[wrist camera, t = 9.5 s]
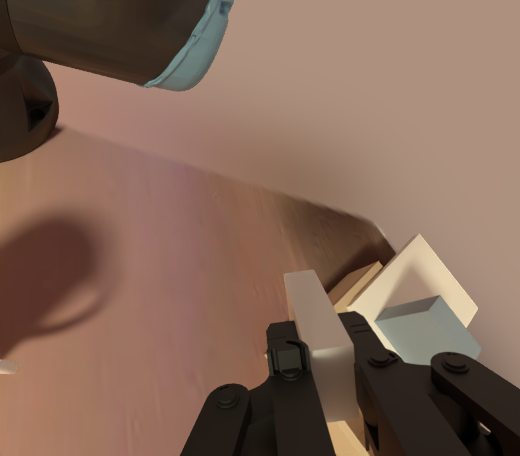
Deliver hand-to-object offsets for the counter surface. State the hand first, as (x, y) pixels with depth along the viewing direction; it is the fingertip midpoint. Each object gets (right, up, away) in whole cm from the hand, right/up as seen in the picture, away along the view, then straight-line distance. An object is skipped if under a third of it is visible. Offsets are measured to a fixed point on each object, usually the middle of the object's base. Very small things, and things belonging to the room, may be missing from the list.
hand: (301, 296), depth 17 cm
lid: (+16, -6, +23) cm, 29 cm away
